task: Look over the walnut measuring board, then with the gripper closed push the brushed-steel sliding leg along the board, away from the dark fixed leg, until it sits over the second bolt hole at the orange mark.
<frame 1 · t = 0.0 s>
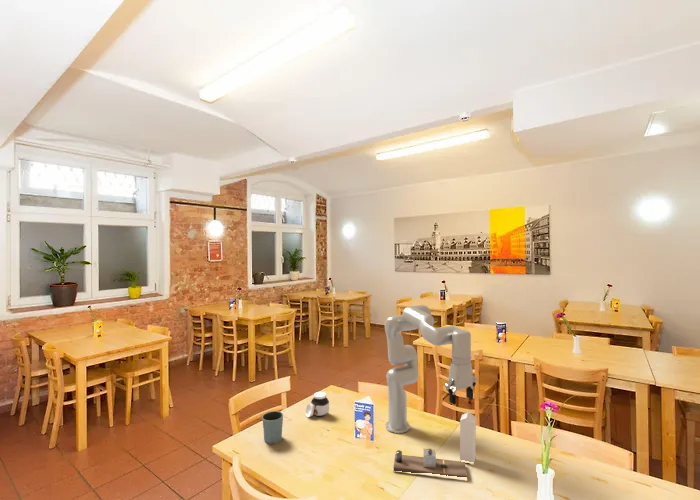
hand: (461, 400, 150), 31 cm above the table, tool pointing down, fingers open, 9 cm apart
fixed leg: (399, 465, 156), resting on measuring board
blue-grey cup: (272, 439, 178), on the table
spread jar: (316, 415, 204), on the table
milk: (467, 460, 160), on the table
sliding leg: (429, 457, 154), point 5 cm above the table, slide at 0.0 cm
measuring board: (429, 469, 154), on the table
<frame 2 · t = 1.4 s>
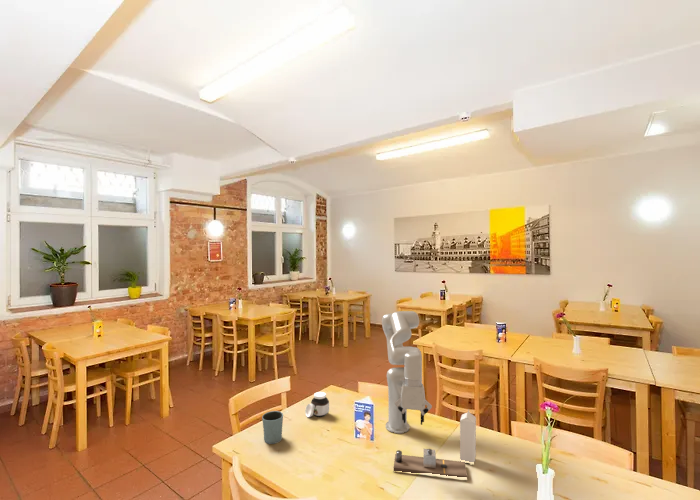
hand: (413, 422, 155), 20 cm above the table, tool pointing down, fingers open, 6 cm apart
nothing on the table moved.
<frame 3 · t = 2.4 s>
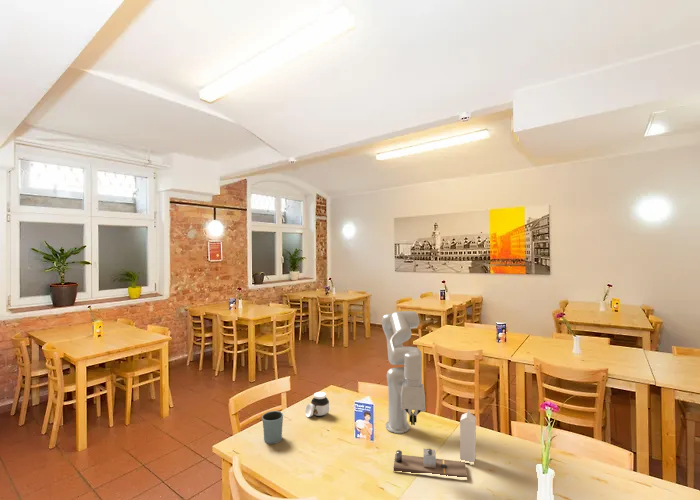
hand: (413, 423, 155), 19 cm above the table, tool pointing down, fingers closed
nothing on the table moved.
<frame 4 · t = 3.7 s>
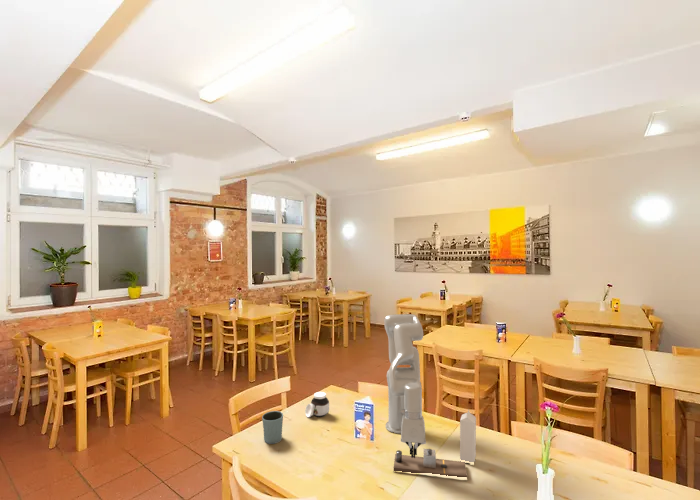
hand: (413, 456, 155), 5 cm above the table, tool pointing down, fingers closed
nothing on the table moved.
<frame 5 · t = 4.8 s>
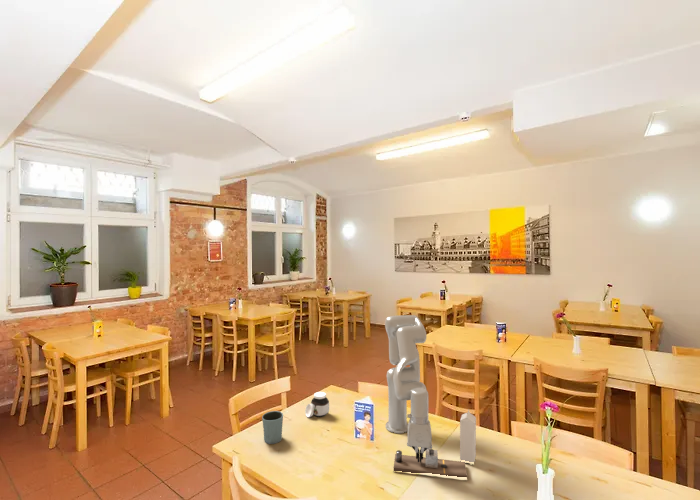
hand: (419, 460, 155), 3 cm above the table, tool pointing down, fingers closed
sliding leg: (431, 457, 154), point 5 cm above the table, slide at 0.9 cm, touching gripper
everything else where it was.
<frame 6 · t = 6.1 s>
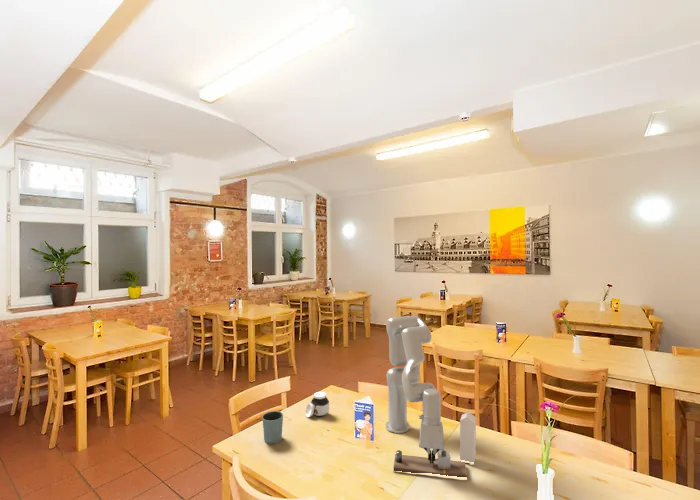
hand: (431, 461, 154), 3 cm above the table, tool pointing down, fingers closed
sliding leg: (443, 458, 153), point 5 cm above the table, slide at 6.0 cm, touching gripper
everything else where it was.
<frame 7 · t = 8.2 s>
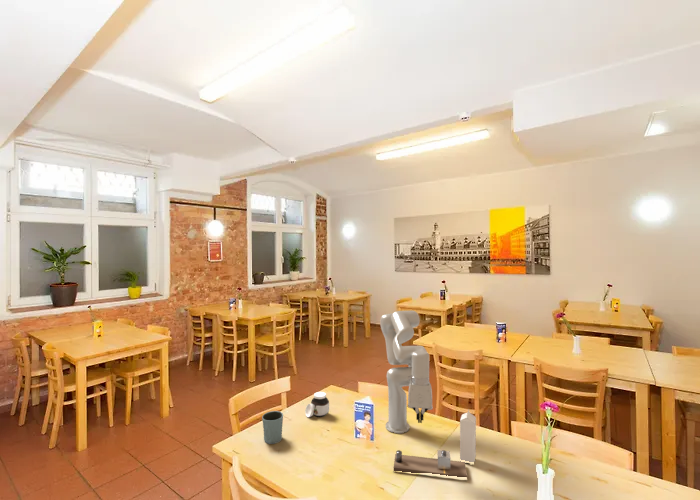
hand: (419, 421, 156), 20 cm above the table, tool pointing down, fingers closed
sliding leg: (443, 458, 153), point 5 cm above the table, slide at 6.0 cm
everything else where it was.
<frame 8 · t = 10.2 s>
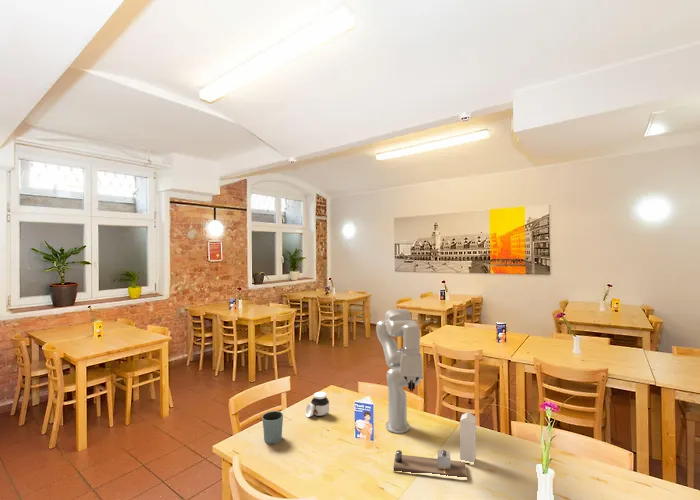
hand: (411, 390, 166), 29 cm above the table, tool pointing down, fingers closed
nothing on the table moved.
at the end: sliding leg slide at 6.0 cm; milk moved 0.2 cm from its start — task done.
